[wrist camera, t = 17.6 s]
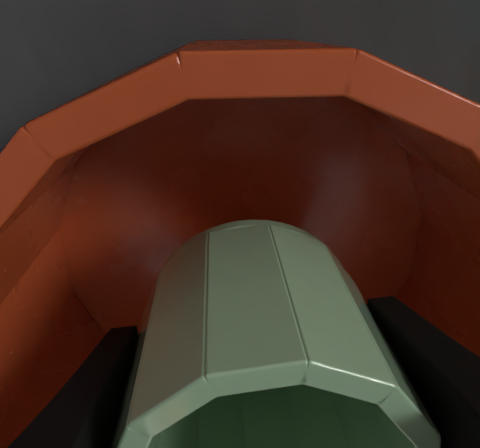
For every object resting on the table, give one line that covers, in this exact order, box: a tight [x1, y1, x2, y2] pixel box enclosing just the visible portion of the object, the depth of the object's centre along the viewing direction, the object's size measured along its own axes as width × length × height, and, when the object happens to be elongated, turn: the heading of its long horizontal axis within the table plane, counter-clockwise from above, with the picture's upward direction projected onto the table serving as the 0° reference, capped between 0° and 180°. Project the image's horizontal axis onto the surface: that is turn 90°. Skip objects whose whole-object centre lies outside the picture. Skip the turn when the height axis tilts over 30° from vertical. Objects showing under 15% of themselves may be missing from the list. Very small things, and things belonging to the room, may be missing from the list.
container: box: [111, 220, 441, 448], centre depth 9 cm, size 6×6×5 cm
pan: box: [0, 39, 480, 448], centre depth 12 cm, size 13×19×6 cm
